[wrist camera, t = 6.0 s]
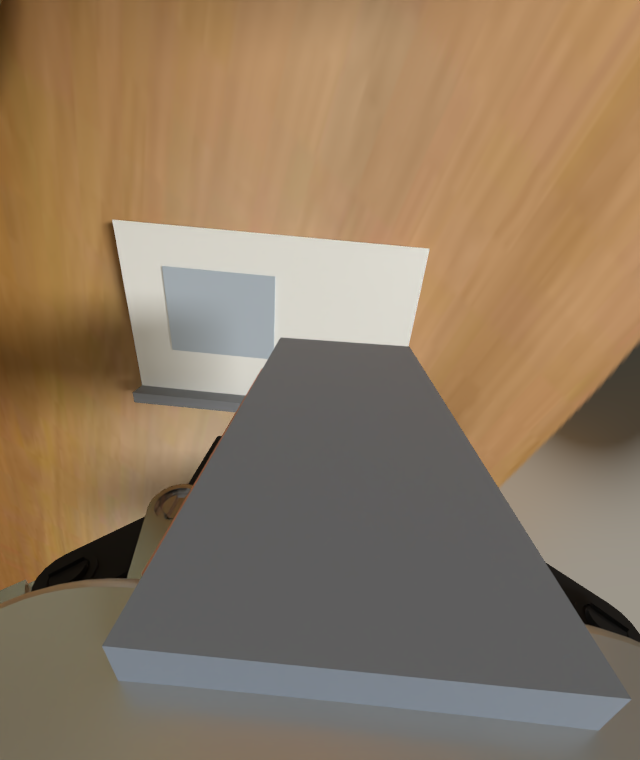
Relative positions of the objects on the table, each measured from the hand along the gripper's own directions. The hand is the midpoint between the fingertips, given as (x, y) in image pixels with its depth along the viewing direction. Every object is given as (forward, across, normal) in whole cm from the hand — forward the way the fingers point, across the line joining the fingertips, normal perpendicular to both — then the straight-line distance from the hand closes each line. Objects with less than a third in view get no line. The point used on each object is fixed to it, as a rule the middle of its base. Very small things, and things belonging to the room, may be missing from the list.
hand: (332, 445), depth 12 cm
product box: (+2, 0, 0) cm, 2 cm away
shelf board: (+17, +6, 0) cm, 18 cm away
